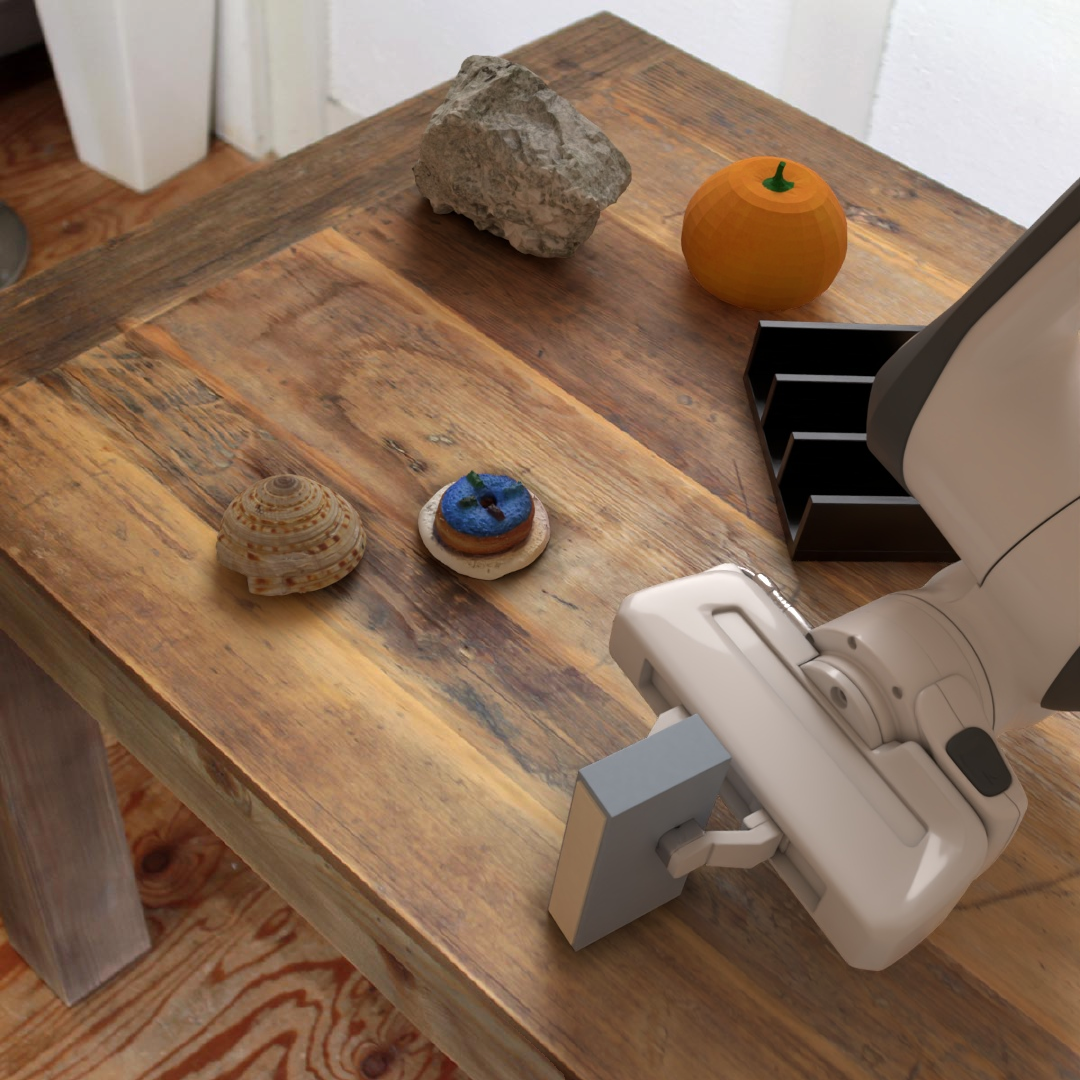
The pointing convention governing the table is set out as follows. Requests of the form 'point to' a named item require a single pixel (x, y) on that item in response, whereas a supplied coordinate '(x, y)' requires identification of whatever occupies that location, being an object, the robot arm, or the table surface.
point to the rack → (833, 444)
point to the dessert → (484, 525)
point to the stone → (518, 159)
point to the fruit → (765, 234)
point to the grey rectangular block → (632, 828)
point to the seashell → (290, 536)
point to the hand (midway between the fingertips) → (640, 823)
